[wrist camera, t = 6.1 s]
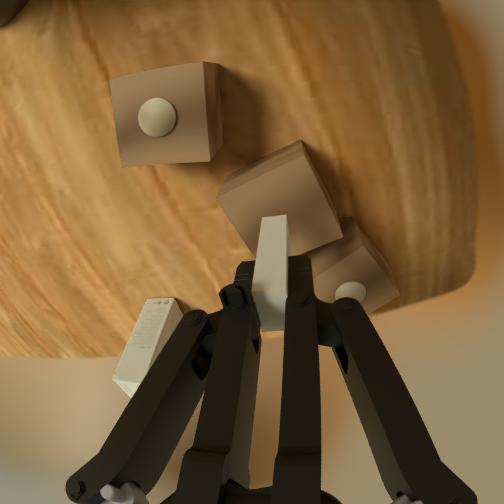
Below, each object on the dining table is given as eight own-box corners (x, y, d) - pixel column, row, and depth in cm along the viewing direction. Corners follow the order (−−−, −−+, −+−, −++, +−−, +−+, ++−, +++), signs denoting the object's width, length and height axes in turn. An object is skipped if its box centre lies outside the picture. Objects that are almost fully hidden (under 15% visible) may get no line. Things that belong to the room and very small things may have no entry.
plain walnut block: (227, 175, 25) (215, 198, 21) (300, 139, 22) (304, 154, 18) (266, 236, 28) (262, 269, 24) (334, 208, 26) (343, 237, 21)
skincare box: (146, 298, 35) (107, 377, 25) (177, 295, 34) (142, 382, 24) (165, 331, 38) (136, 407, 28) (194, 330, 37) (169, 411, 27)
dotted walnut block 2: (294, 256, 29) (294, 292, 25) (351, 215, 26) (363, 247, 22) (334, 296, 31) (339, 331, 27) (387, 262, 28) (401, 296, 24)
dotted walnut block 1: (139, 75, 20) (108, 79, 16) (219, 63, 19) (202, 61, 15) (148, 149, 24) (121, 168, 20) (224, 144, 23) (209, 162, 19)
